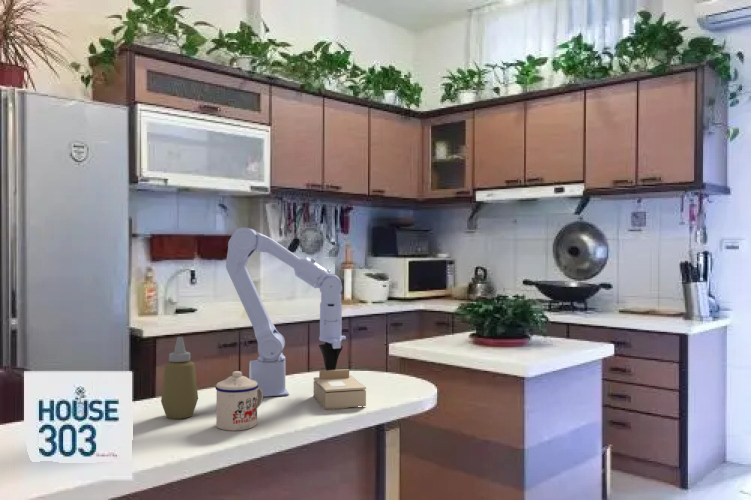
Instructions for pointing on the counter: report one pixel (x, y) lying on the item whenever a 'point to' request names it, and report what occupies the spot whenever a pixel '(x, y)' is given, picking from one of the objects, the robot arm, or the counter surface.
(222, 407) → the teacup with lid
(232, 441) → the counter surface
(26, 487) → the counter surface
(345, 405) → the box
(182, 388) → the squeeze bottle
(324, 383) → the lid
